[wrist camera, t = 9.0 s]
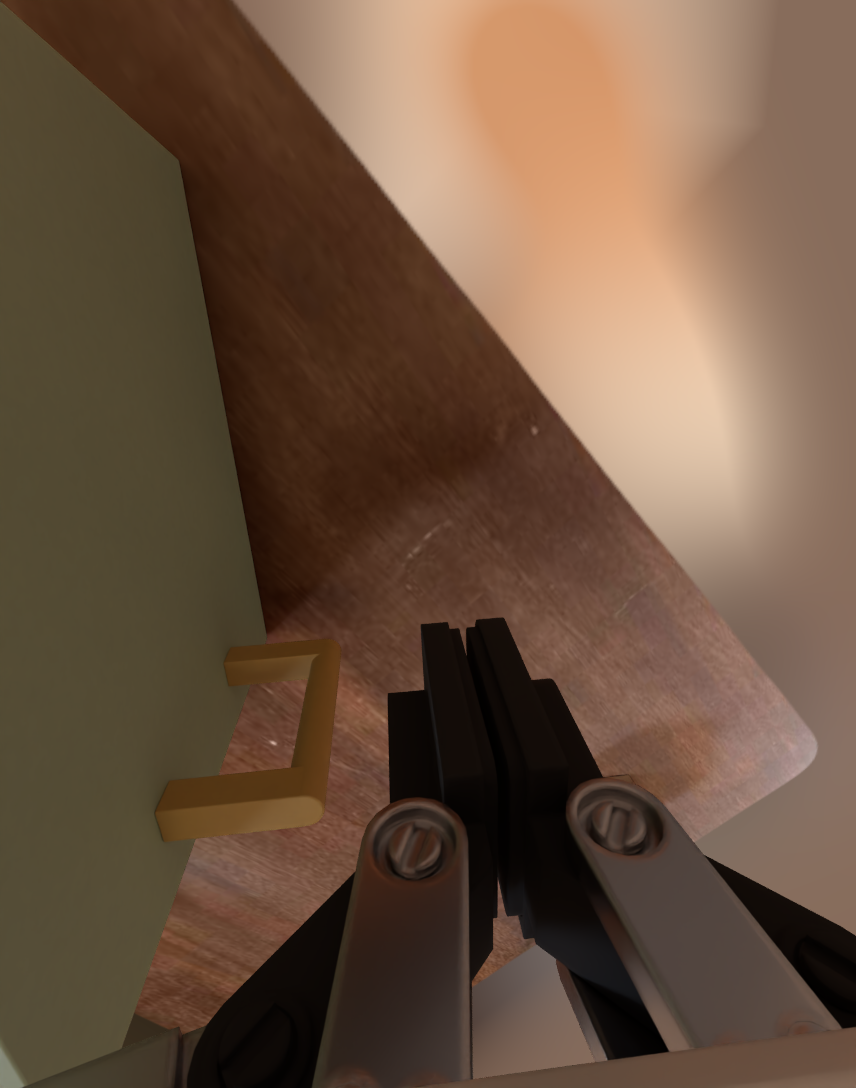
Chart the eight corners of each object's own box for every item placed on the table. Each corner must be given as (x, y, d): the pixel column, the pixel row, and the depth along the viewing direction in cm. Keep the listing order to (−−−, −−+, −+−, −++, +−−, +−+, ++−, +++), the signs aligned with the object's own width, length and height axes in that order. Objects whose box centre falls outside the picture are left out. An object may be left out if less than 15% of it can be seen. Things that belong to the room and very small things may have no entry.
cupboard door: (297, 156, 25) (-234, -1078, 3) (352, 630, 35) (313, 1136, 13) (157, 160, 25) (-1606, -1256, 3) (251, 639, 34) (34, 1178, 12)
